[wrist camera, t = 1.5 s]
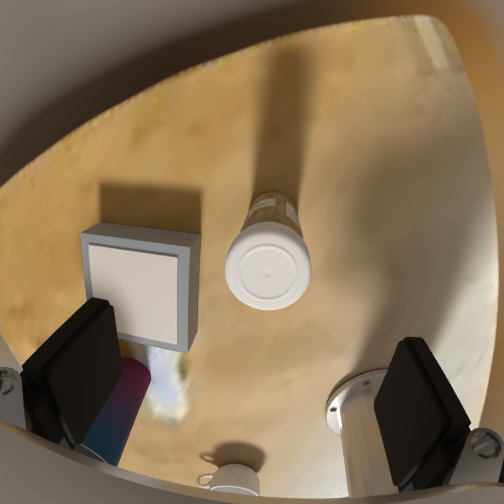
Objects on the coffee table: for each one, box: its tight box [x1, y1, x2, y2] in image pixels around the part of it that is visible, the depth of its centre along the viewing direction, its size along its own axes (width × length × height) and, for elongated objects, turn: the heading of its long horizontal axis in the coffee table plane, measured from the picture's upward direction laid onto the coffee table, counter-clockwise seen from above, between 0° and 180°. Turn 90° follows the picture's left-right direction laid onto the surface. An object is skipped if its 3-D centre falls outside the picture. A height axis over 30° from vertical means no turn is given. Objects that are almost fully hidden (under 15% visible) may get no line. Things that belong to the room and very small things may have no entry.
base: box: [81, 222, 201, 353], centre depth 30 cm, size 11×11×4 cm
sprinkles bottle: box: [224, 192, 311, 310], centre depth 22 cm, size 5×5×13 cm
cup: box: [73, 358, 151, 467], centre depth 30 cm, size 7×7×15 cm
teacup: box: [197, 464, 260, 496], centre depth 40 cm, size 10×8×5 cm
